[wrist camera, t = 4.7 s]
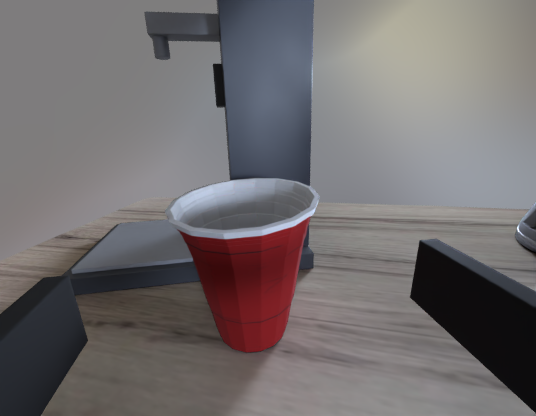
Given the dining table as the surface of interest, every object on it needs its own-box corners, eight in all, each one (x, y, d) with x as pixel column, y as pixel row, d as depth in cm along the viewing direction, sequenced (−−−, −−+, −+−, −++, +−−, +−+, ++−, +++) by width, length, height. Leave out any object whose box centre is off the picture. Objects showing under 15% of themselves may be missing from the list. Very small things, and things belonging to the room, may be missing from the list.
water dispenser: (287, 221, 46) (284, -137, 32) (317, 267, 31) (339, -370, 17) (119, 235, 42) (29, -167, 28) (61, 296, 27) (-197, -506, 13)
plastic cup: (156, 349, 21) (126, 203, 17) (237, 279, 30) (229, 174, 26) (278, 419, 15) (274, 232, 12) (331, 309, 24) (338, 183, 21)
